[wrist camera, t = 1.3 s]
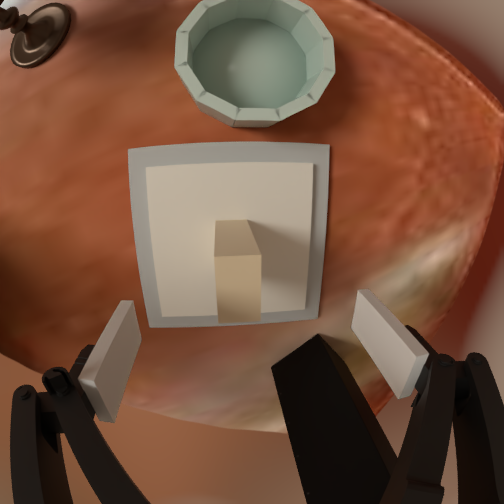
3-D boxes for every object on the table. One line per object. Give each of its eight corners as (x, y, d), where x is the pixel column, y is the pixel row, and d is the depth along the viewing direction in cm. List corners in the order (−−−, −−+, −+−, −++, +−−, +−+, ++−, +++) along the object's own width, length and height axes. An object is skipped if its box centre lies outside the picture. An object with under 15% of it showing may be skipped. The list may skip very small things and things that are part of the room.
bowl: (182, 129, 25) (173, 123, 20) (186, 16, 21) (180, -11, 16) (313, 129, 27) (336, 125, 21) (310, 21, 22) (329, -3, 17)
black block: (301, 391, 39) (360, 560, 12) (269, 366, 36) (323, 570, 10) (345, 361, 38) (433, 526, 11) (317, 331, 35) (418, 533, 9)
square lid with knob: (163, 313, 31) (145, 378, 21) (147, 167, 26) (107, 176, 16) (302, 305, 33) (334, 366, 23) (310, 162, 27) (360, 170, 17)
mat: (150, 324, 32) (149, 327, 32) (129, 149, 25) (127, 149, 25) (315, 316, 34) (317, 318, 34) (327, 144, 27) (329, 144, 27)
